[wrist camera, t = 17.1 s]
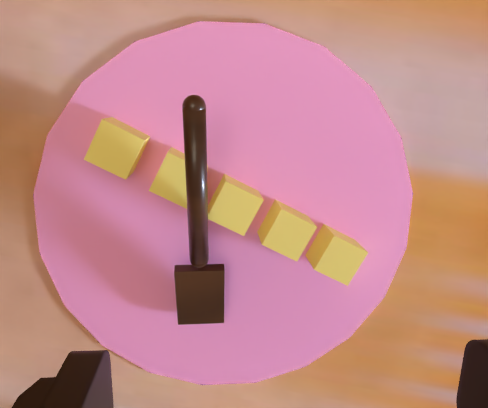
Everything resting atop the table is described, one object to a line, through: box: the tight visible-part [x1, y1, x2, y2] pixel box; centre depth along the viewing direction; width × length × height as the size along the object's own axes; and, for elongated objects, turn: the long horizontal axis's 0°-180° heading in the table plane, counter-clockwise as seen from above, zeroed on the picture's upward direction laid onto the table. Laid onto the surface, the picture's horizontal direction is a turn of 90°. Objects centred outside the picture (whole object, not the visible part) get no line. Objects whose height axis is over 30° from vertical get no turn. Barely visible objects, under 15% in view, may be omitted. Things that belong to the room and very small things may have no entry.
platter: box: [33, 21, 413, 385], centre depth 34 cm, size 32×32×3 cm
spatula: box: [174, 95, 225, 325], centre depth 31 cm, size 18×4×11 cm
